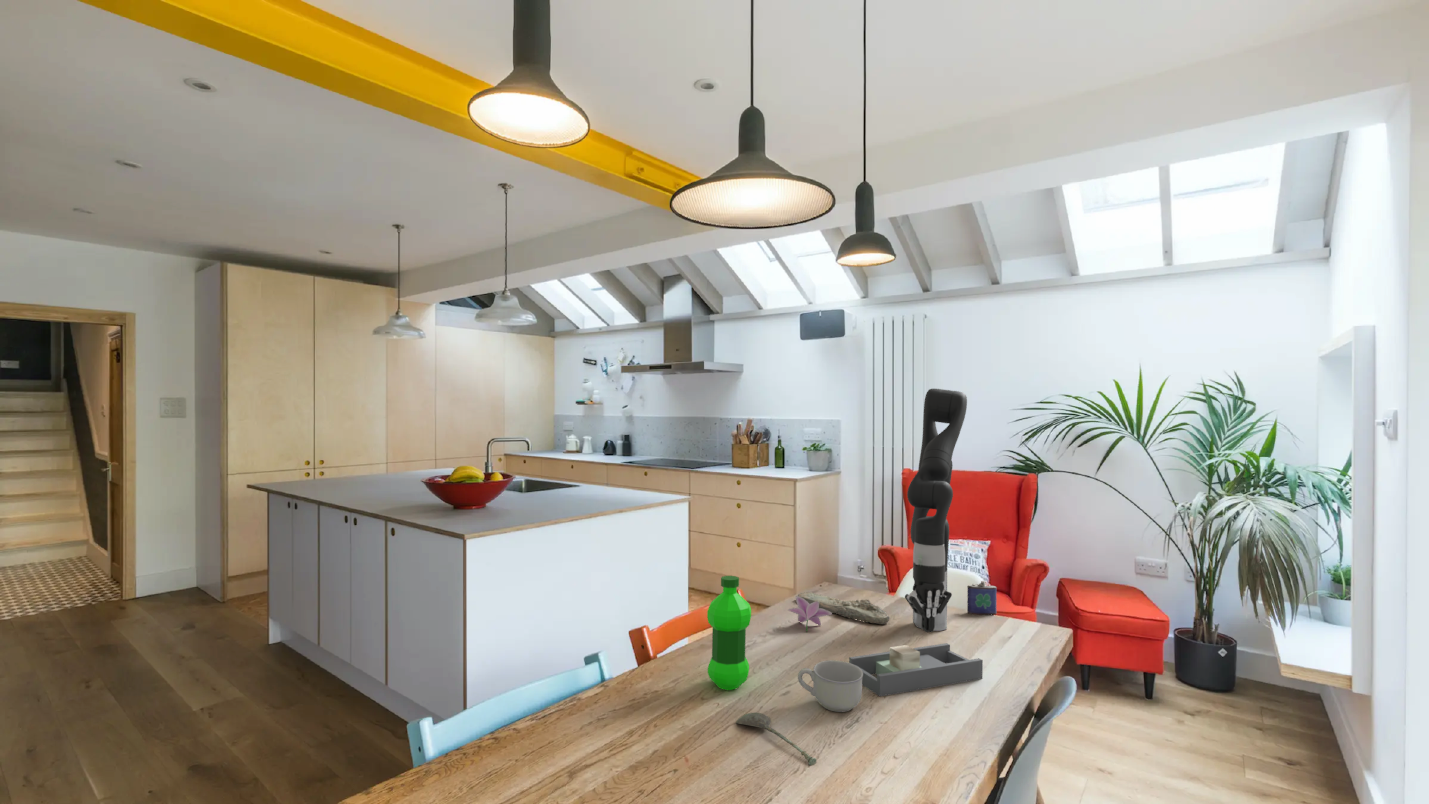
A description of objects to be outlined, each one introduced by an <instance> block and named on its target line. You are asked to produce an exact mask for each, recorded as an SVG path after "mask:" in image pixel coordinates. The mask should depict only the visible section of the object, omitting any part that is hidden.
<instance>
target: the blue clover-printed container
mask: <svg viewBox="0 0 1429 804" xmlns="http://www.w3.org/2000/svg"><path fill="white" fill-rule="evenodd" d="M997 588H998V587H997V586H995V585H986V582H985V581H984V580H980V583H979V584H977V583H976V584H974V583H972V584H969V585H967V596H966V597H967V603H966V605H967V614H969V615H972V614H973V615H975V616H976V615H977V616H996V615H997V613H998V612H997ZM991 614H992V615H991Z"/></svg>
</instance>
